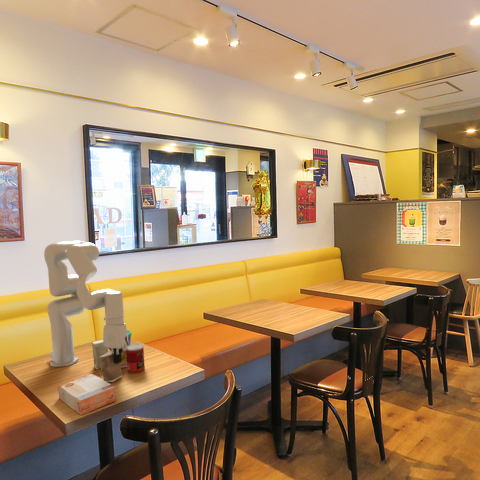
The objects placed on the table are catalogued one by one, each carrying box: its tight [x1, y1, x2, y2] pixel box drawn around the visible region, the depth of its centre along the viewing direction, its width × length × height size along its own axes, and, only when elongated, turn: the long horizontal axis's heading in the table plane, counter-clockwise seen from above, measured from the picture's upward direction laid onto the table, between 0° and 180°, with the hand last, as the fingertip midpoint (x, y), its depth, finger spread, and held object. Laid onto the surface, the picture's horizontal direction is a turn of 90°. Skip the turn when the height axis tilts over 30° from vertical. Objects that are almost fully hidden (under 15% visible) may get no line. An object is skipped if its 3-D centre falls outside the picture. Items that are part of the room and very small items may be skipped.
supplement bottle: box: [120, 350, 127, 369], centre depth 188 cm, size 7×7×13 cm
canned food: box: [126, 343, 146, 374], centre depth 183 cm, size 8×8×11 cm
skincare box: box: [91, 339, 109, 370], centre depth 189 cm, size 6×4×12 cm
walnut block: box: [99, 351, 123, 383], centre depth 173 cm, size 5×6×11 cm
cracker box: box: [57, 373, 117, 416], centre depth 155 cm, size 14×6×21 cm
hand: (117, 362), depth 171 cm, fingers closed
